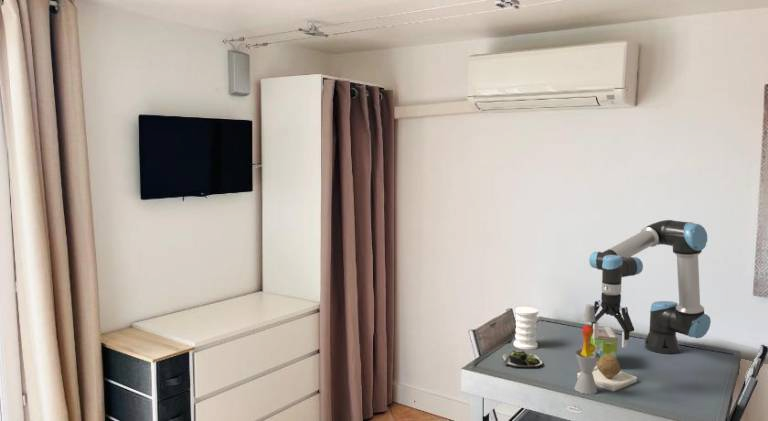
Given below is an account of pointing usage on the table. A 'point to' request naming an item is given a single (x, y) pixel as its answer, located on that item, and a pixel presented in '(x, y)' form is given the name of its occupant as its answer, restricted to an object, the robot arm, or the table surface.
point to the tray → (612, 380)
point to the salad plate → (522, 360)
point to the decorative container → (526, 328)
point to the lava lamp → (587, 356)
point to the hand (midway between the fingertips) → (609, 342)
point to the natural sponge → (608, 365)
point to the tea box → (605, 342)
